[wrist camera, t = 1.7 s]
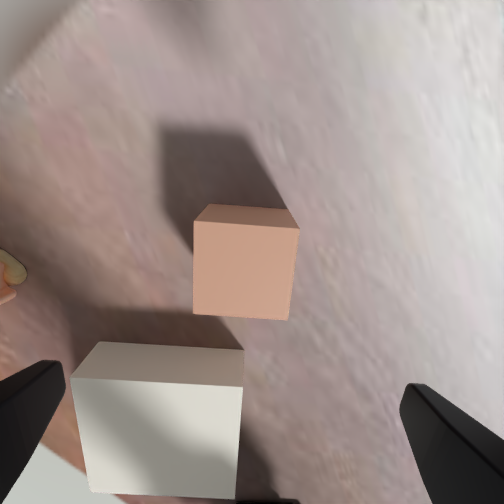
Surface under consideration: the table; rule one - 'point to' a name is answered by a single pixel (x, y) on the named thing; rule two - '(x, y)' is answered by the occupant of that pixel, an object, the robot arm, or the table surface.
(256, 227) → the terracotta block
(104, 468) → the cream box
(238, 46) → the table surface
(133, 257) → the table surface
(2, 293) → the grandmother figurine
